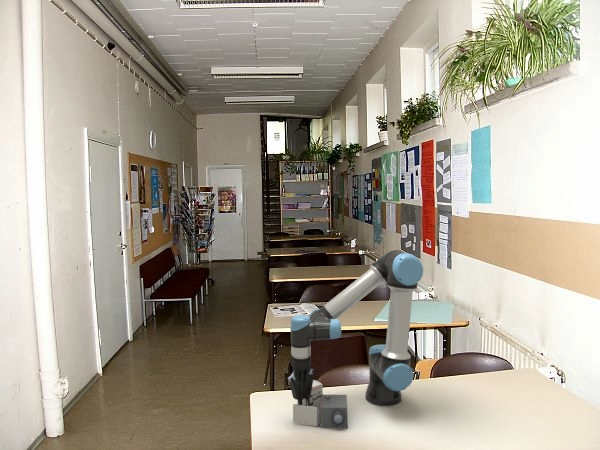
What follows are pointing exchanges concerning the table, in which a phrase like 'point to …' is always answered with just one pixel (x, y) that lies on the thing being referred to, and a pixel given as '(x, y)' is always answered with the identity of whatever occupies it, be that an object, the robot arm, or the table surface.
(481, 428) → the table surface
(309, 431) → the table surface
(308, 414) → the door
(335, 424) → the housing
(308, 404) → the ink box
